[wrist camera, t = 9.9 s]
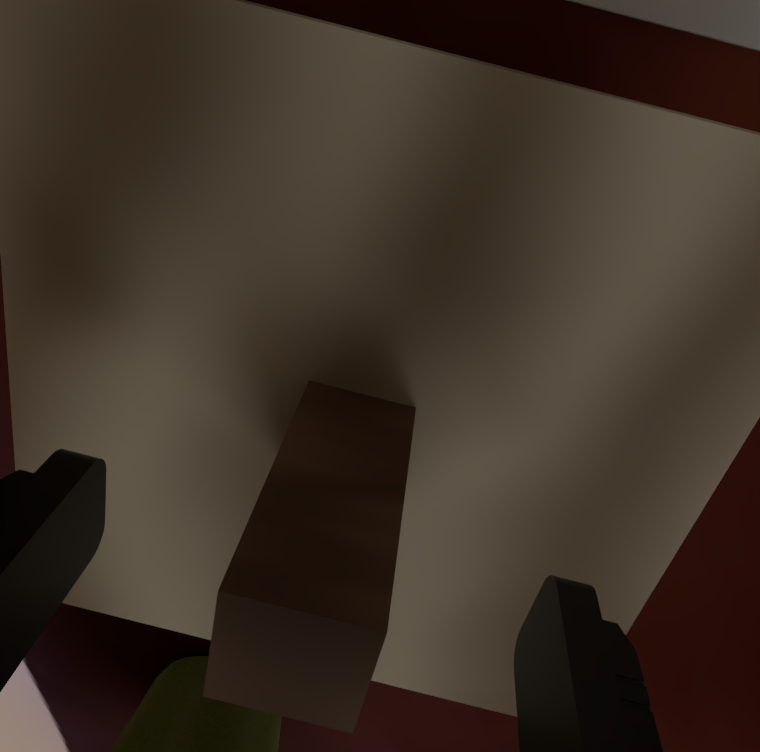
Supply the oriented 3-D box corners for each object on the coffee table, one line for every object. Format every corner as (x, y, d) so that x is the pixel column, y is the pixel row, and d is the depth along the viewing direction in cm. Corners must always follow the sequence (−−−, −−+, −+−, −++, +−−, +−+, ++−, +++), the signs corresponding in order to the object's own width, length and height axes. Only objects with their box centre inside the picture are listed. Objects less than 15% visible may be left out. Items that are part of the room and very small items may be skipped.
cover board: (882, 164, 12) (1307, 315, 6) (563, 704, 20) (606, 1002, 14) (7, -61, 12) (-472, -142, 6) (39, 572, 19) (-148, 816, 14)
